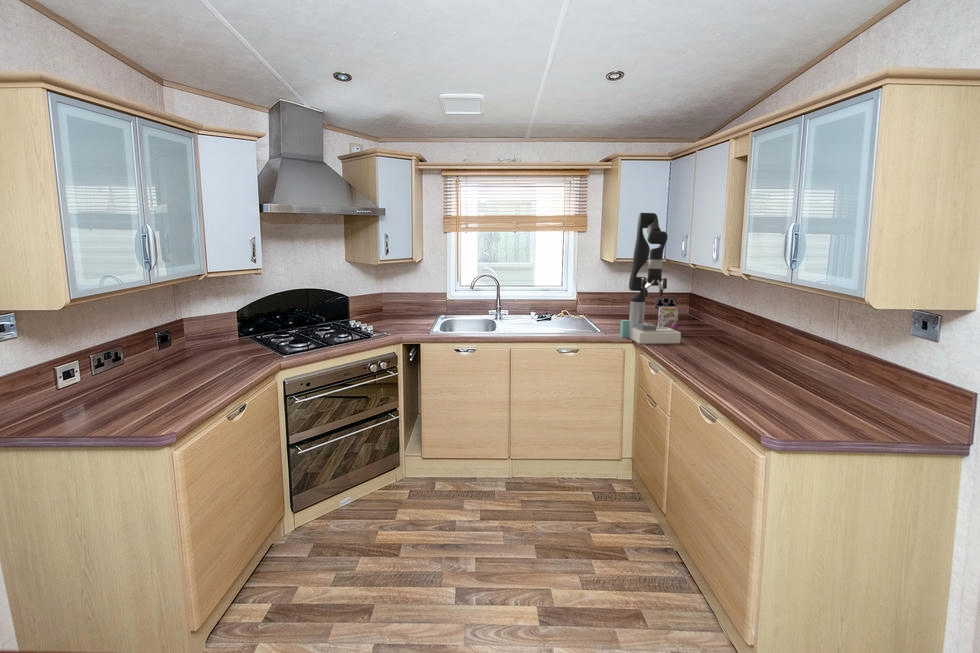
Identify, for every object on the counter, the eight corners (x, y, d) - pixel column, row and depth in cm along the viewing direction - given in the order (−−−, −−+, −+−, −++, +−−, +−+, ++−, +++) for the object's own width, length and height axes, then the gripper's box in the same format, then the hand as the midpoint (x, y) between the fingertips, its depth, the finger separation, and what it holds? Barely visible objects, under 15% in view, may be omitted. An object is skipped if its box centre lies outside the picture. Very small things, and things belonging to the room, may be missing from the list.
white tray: (628, 337, 306) (629, 326, 305) (667, 337, 309) (668, 326, 308) (639, 343, 291) (640, 331, 290) (680, 343, 293) (681, 331, 292)
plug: (619, 336, 310) (620, 319, 308) (626, 336, 310) (627, 319, 309) (622, 337, 306) (623, 321, 304) (628, 337, 306) (629, 321, 305)
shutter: (636, 328, 302) (637, 322, 301) (650, 328, 303) (650, 321, 302) (642, 331, 294) (642, 324, 293) (655, 331, 295) (656, 324, 294)
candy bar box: (658, 334, 319) (660, 307, 316) (656, 332, 324) (658, 306, 321) (677, 334, 318) (679, 308, 315) (675, 333, 323) (677, 307, 320)
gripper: (664, 267, 294) (661, 295, 297) (640, 267, 292) (638, 295, 295) (670, 268, 286) (668, 297, 289) (645, 268, 284) (643, 297, 287)
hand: (653, 296), depth 292 cm, fingers open, 8 cm apart
